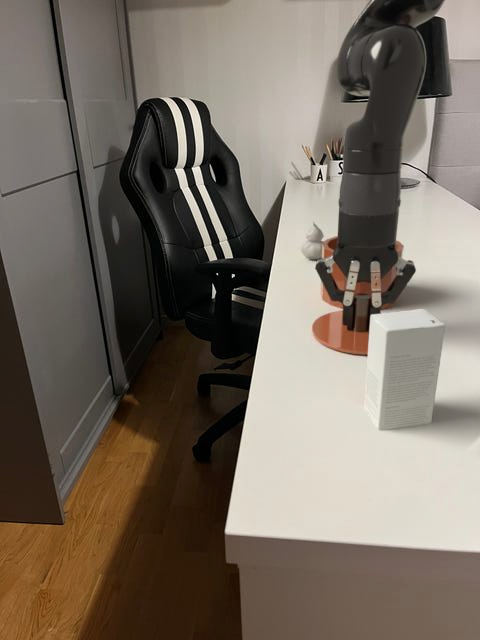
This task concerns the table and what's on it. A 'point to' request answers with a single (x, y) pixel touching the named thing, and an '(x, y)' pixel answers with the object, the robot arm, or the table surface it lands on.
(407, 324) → the cosmetic box
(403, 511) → the table surface
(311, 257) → the white lumpy pointed piece
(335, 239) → the jar
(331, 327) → the jar lid
